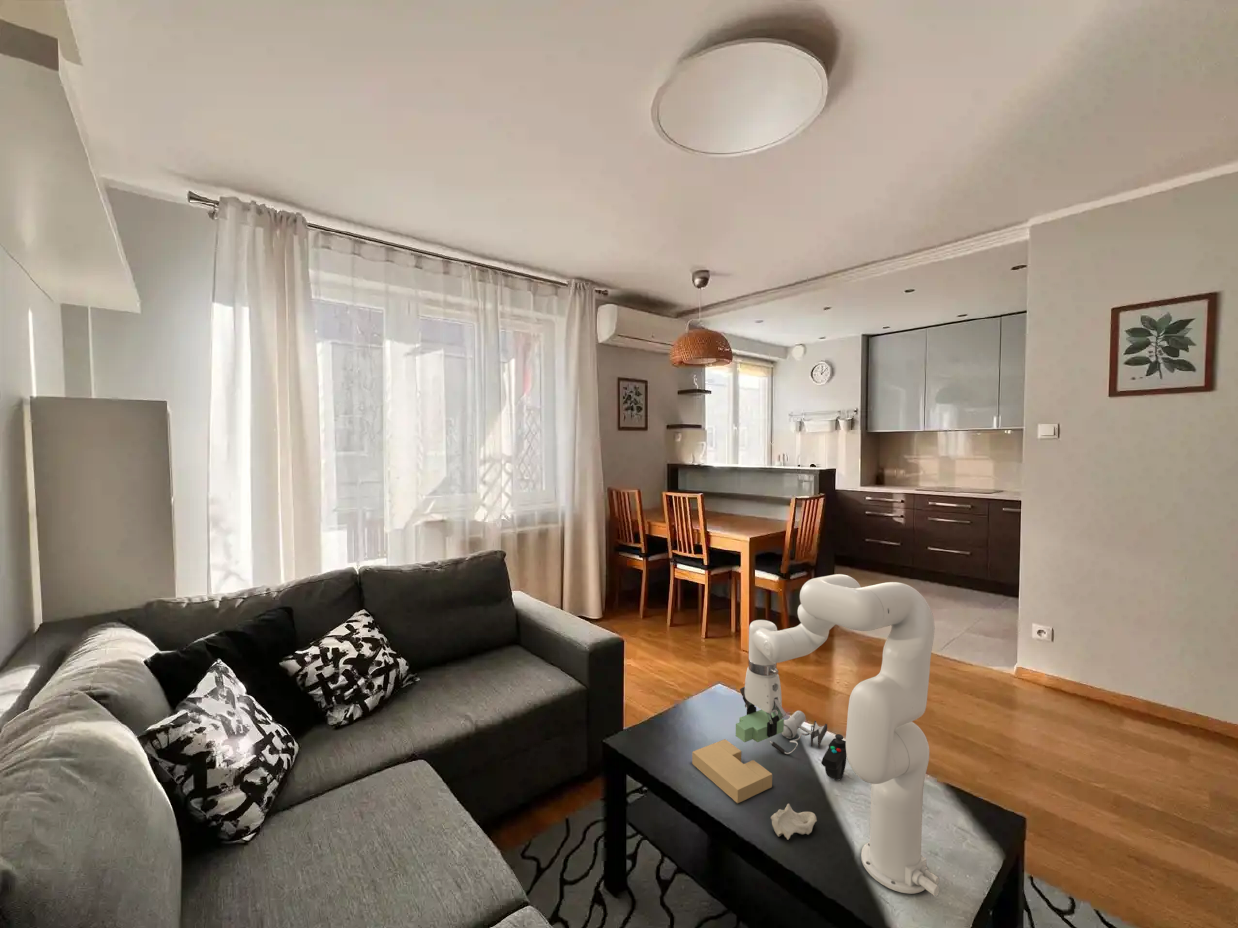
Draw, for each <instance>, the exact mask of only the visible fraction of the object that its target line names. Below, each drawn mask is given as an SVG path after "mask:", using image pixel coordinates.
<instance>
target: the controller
mask: <svg viewBox="0 0 1238 928" xmlns="http://www.w3.org/2000/svg"><path fill="white" fill-rule="evenodd" d="M847 759H848V758H847V754H846V740H845V739H844V736H843V735H842V734H839V733H837V734H835V735H834V738H832V740H831V741H830V743H829V744H828V749H827V750H826V752H825V753H824V755H823V757H822V759H821V762H820V764H821V765H822V766H823V767H824V770H825V774H826V776H827V777H828V778H830V779H832V780H835V781H840V780H841V779H842V778H843V776H844V774H845V770H846V765H847Z"/></svg>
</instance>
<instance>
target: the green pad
mask: <svg viewBox="0 0 1238 928" xmlns="http://www.w3.org/2000/svg"><path fill="white" fill-rule="evenodd" d="M771 715H772V718H773V717H774V715H773V713H771ZM738 718H739V721H738V722H736V723H735V737H736V738H738V739H739V740H741V741H742V742H744V743H747V742H750V741H752V740H753V741H754V742H756V743H760V742H762V741H765V740H767V739H769V738H771V737H768V736H767V723H768V722H769V720H768V717H767V714H766V712H765V711H763V710H762V709H759V710H756V712H754V713H751V714H748V715H747V714H746V715H742V716H740V717H738ZM784 720H785V719H784V718H782V719H781V720H780V721H778V722H777V734H776V735H775V736H777V735H779V734H782V732H784Z"/></svg>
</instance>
